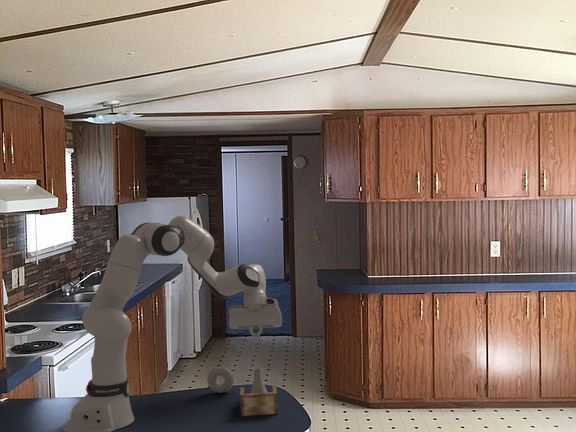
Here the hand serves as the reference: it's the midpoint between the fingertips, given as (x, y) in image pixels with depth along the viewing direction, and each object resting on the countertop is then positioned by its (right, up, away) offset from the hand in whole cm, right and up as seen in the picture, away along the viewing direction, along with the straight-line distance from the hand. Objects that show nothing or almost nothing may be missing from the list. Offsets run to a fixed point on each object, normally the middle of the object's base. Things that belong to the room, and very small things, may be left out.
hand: (255, 338), depth 235 cm
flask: (+1, -20, -8) cm, 21 cm away
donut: (-13, -20, -2) cm, 24 cm away
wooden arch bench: (+2, -20, -20) cm, 28 cm away
